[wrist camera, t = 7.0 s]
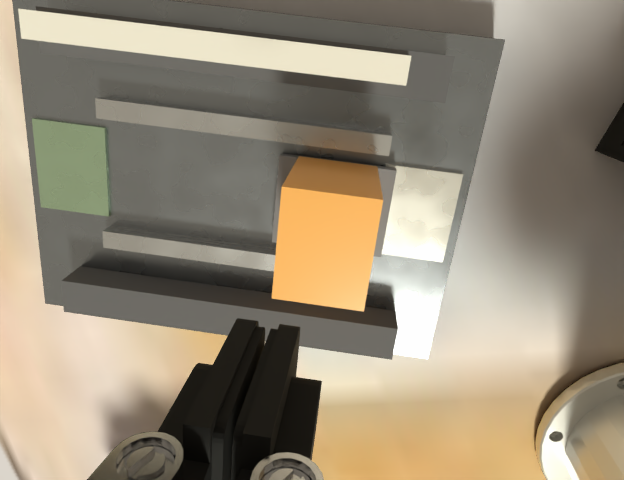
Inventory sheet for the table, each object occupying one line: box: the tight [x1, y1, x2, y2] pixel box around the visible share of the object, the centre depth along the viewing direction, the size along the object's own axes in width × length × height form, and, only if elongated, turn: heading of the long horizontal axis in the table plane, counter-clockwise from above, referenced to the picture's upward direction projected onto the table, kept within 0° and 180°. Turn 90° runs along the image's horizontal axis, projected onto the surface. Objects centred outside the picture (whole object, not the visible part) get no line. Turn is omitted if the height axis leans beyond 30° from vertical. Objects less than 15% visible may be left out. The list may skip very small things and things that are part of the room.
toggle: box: [272, 153, 397, 312], centre depth 23 cm, size 6×5×7 cm
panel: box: [12, 0, 505, 359], centre depth 27 cm, size 24×18×3 cm
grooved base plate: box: [18, 6, 455, 359], centre depth 25 cm, size 19×16×3 cm
